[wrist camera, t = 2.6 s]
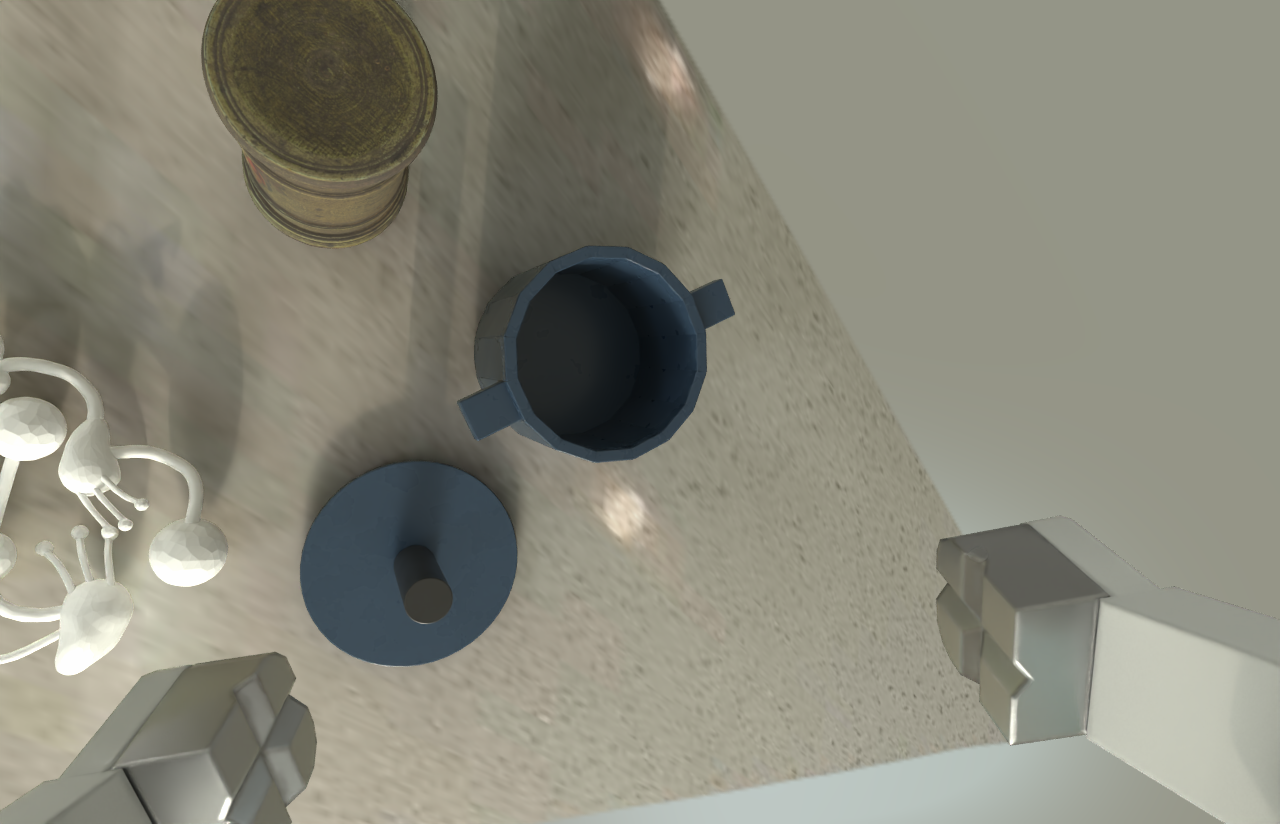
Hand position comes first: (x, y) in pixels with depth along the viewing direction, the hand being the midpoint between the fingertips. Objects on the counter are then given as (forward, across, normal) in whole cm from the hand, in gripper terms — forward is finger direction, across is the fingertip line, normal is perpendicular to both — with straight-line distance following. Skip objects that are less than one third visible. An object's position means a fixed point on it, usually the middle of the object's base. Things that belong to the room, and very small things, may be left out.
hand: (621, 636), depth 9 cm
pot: (+42, +3, +8) cm, 43 cm away
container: (+41, +15, -6) cm, 44 cm away
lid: (+34, +15, +18) cm, 42 cm away
